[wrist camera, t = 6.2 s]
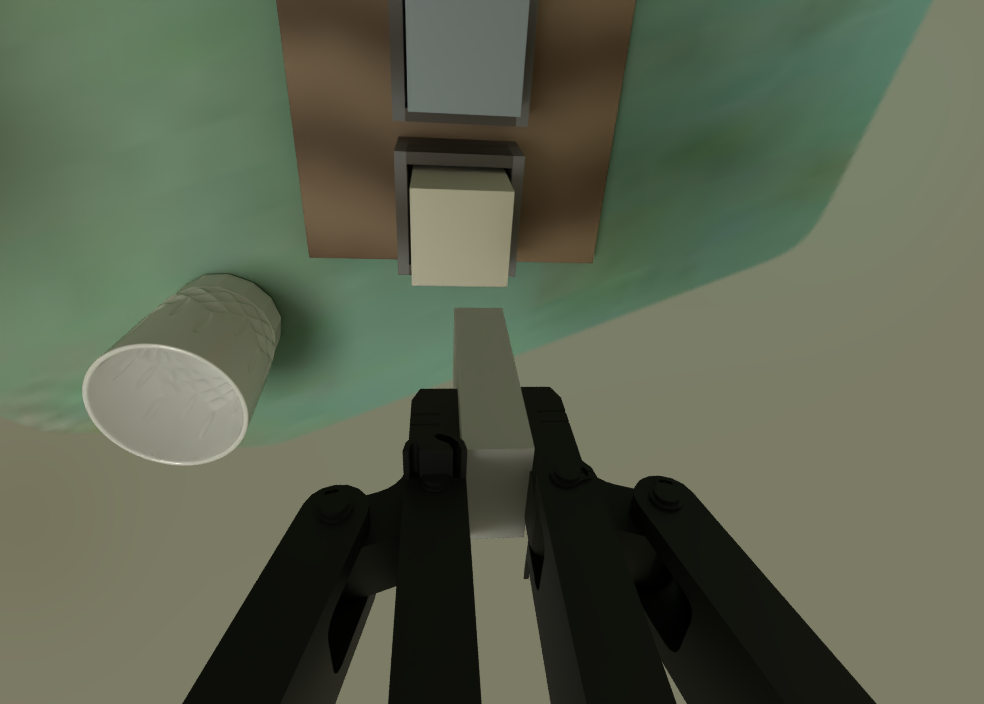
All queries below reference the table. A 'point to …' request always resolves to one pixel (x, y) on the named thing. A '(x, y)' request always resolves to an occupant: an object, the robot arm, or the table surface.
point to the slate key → (466, 56)
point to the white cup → (187, 373)
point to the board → (450, 127)
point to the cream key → (460, 225)
